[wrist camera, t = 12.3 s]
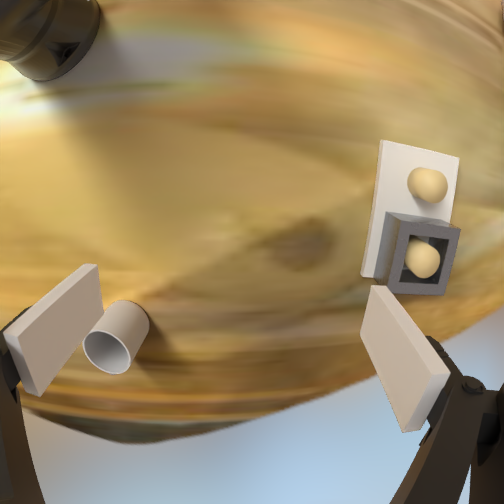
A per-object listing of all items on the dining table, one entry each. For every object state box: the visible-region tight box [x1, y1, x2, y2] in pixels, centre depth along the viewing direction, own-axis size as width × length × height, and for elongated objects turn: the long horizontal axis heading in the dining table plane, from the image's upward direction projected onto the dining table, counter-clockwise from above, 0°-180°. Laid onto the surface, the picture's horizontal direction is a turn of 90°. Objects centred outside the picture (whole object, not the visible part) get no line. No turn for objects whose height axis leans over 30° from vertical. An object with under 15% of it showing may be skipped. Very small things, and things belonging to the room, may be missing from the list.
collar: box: [373, 211, 461, 295], centre depth 37 cm, size 9×9×5 cm
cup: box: [83, 300, 149, 375], centre depth 42 cm, size 7×10×9 cm
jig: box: [360, 140, 459, 278], centre depth 36 cm, size 18×12×7 cm, turn 176°
